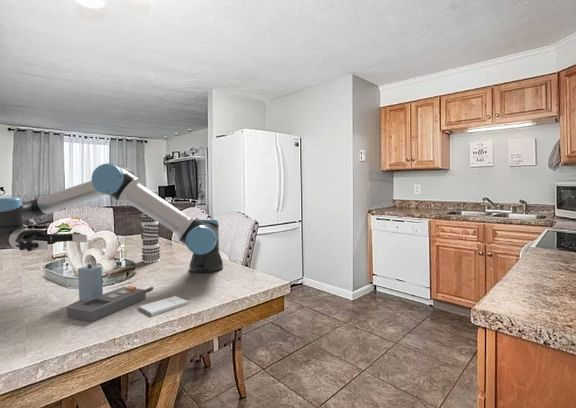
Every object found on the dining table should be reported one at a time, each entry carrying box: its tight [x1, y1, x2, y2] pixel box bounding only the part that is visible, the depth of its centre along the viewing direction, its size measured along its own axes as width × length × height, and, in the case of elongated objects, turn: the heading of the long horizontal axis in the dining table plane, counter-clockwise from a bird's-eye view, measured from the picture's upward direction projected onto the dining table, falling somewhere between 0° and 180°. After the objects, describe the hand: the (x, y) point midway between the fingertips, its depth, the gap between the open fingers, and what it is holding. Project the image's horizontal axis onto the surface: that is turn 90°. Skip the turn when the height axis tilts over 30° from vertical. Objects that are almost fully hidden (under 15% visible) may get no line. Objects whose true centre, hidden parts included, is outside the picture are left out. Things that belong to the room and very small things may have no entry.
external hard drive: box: [138, 295, 189, 317], centre depth 100 cm, size 2×8×12 cm
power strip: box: [66, 285, 154, 323], centre depth 104 cm, size 28×10×4 cm, turn 160°
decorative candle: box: [139, 212, 161, 264], centre depth 161 cm, size 9×9×25 cm
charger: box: [77, 263, 104, 302], centre depth 107 cm, size 4×6×12 cm, turn 70°
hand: (67, 241), depth 109 cm, fingers open, 13 cm apart
